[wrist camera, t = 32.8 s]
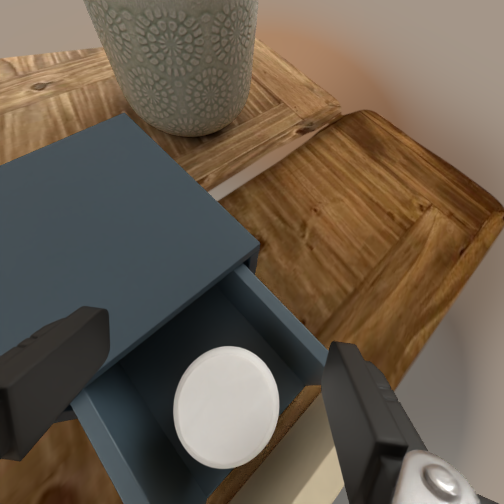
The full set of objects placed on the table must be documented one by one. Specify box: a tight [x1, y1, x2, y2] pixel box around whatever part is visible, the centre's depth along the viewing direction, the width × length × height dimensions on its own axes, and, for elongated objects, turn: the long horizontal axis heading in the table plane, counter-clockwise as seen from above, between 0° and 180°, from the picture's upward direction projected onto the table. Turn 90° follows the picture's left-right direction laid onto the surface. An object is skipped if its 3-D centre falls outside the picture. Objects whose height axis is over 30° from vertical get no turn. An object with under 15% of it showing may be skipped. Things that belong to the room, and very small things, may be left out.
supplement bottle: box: [173, 346, 279, 469], centre depth 15 cm, size 5×5×10 cm
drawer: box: [70, 263, 345, 504], centre depth 16 cm, size 20×12×9 cm, turn 43°
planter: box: [84, 0, 258, 137], centre depth 30 cm, size 17×17×15 cm
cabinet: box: [0, 113, 260, 423], centre depth 20 cm, size 16×14×11 cm
